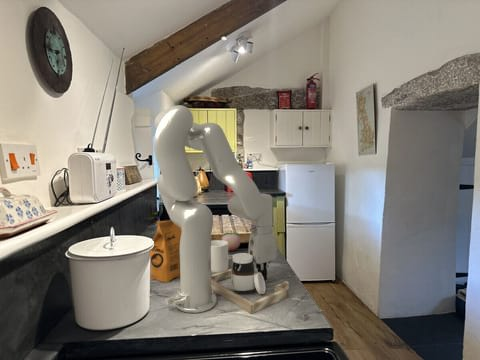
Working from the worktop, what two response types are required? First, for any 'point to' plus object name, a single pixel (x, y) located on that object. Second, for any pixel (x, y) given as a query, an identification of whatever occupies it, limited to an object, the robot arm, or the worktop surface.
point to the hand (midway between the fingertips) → (262, 279)
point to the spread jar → (245, 275)
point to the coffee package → (166, 252)
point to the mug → (219, 256)
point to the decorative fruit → (232, 240)
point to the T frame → (255, 306)
